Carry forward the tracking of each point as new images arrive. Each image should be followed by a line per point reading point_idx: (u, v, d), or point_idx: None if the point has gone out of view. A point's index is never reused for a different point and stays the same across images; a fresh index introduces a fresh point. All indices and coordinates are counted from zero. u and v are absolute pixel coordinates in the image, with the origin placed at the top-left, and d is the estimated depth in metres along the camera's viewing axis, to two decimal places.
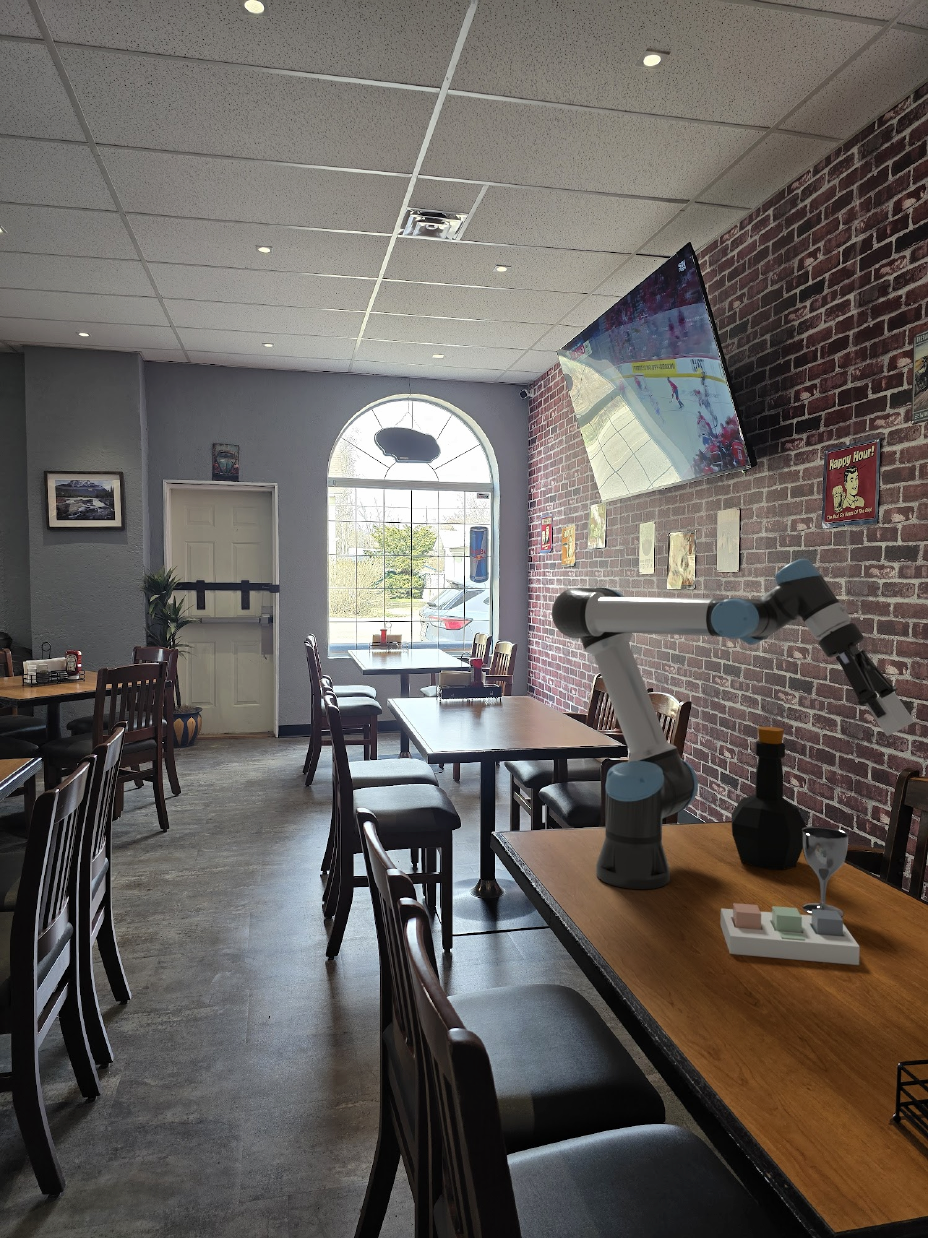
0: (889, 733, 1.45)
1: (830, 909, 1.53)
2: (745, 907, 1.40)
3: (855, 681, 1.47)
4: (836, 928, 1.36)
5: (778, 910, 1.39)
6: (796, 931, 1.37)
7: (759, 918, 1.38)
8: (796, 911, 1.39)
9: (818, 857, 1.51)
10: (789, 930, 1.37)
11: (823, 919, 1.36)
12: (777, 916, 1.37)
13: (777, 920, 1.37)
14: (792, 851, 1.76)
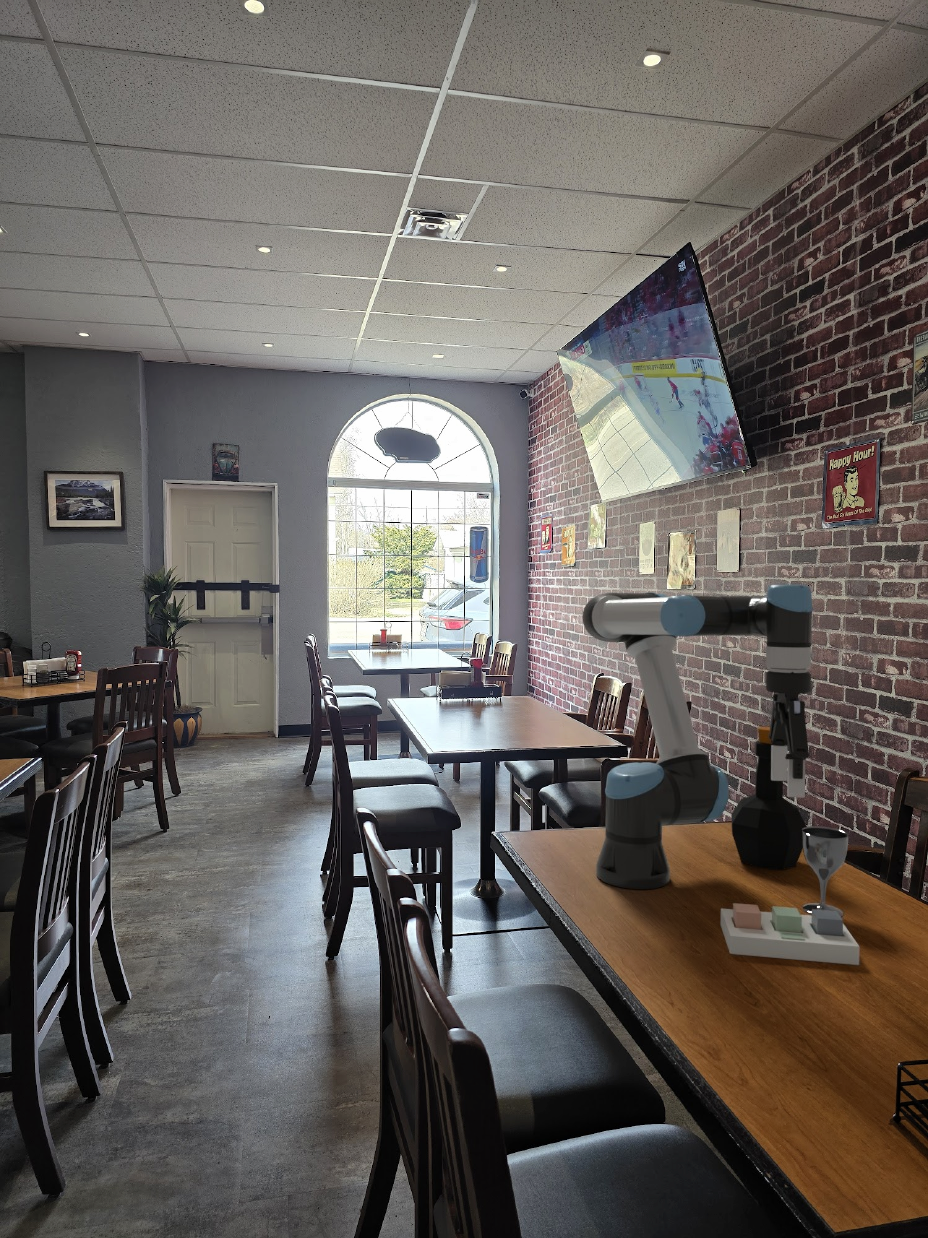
0: (792, 795, 1.39)
1: (830, 909, 1.53)
2: (745, 907, 1.40)
3: (798, 736, 1.38)
4: (836, 928, 1.36)
5: (778, 910, 1.39)
6: (796, 931, 1.37)
7: (759, 918, 1.38)
8: (796, 911, 1.39)
9: (818, 857, 1.51)
10: (789, 930, 1.37)
11: (823, 919, 1.36)
12: (777, 916, 1.37)
13: (777, 920, 1.37)
14: (792, 851, 1.76)
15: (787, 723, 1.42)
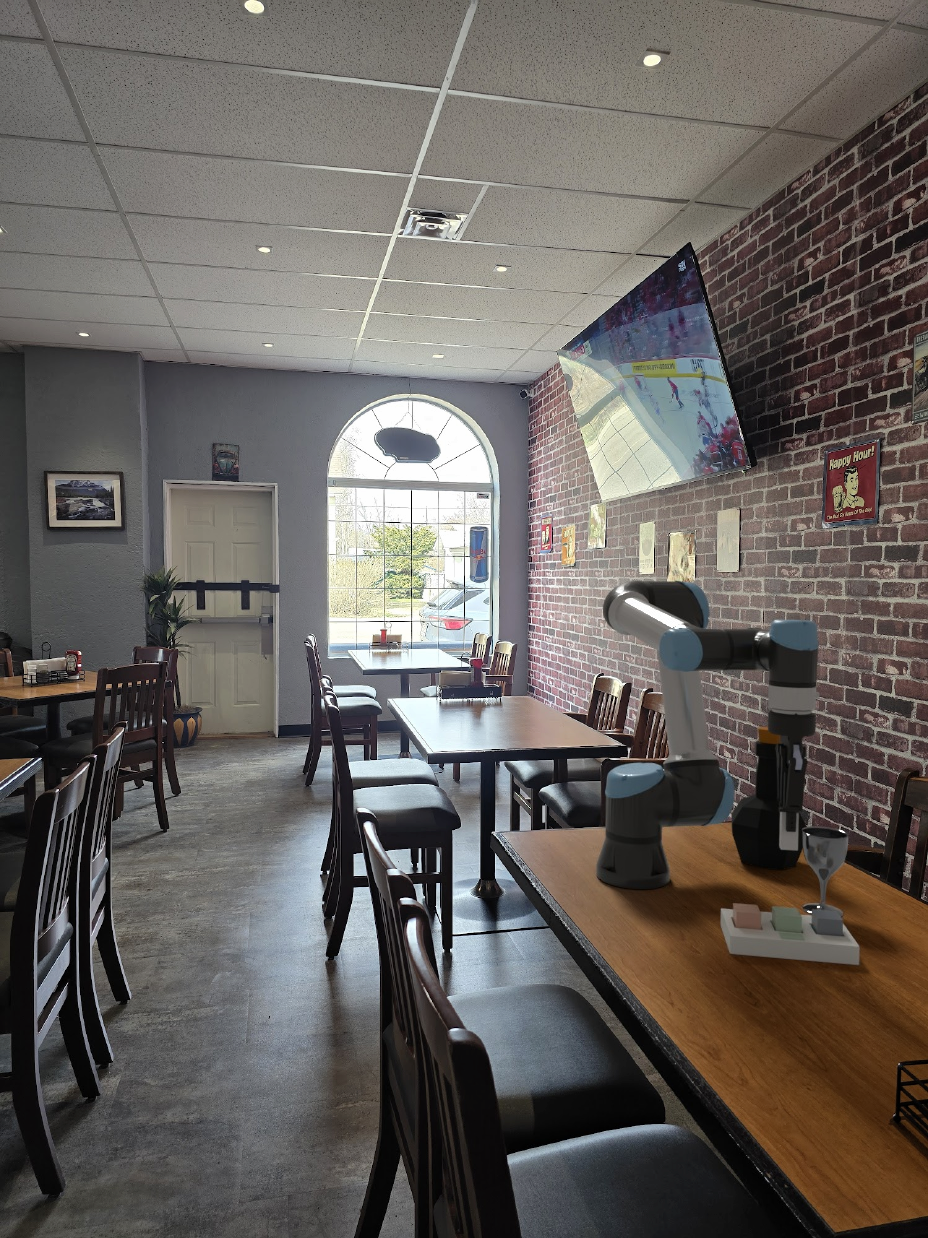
0: (785, 848, 1.38)
1: (830, 909, 1.53)
2: (745, 907, 1.40)
3: (794, 793, 1.34)
4: (836, 928, 1.36)
5: (778, 910, 1.39)
6: (796, 931, 1.37)
7: (759, 918, 1.38)
8: (796, 911, 1.39)
9: (818, 857, 1.51)
10: (789, 930, 1.37)
11: (823, 919, 1.36)
12: (777, 916, 1.37)
13: (777, 920, 1.37)
14: (792, 851, 1.76)
15: (787, 773, 1.36)
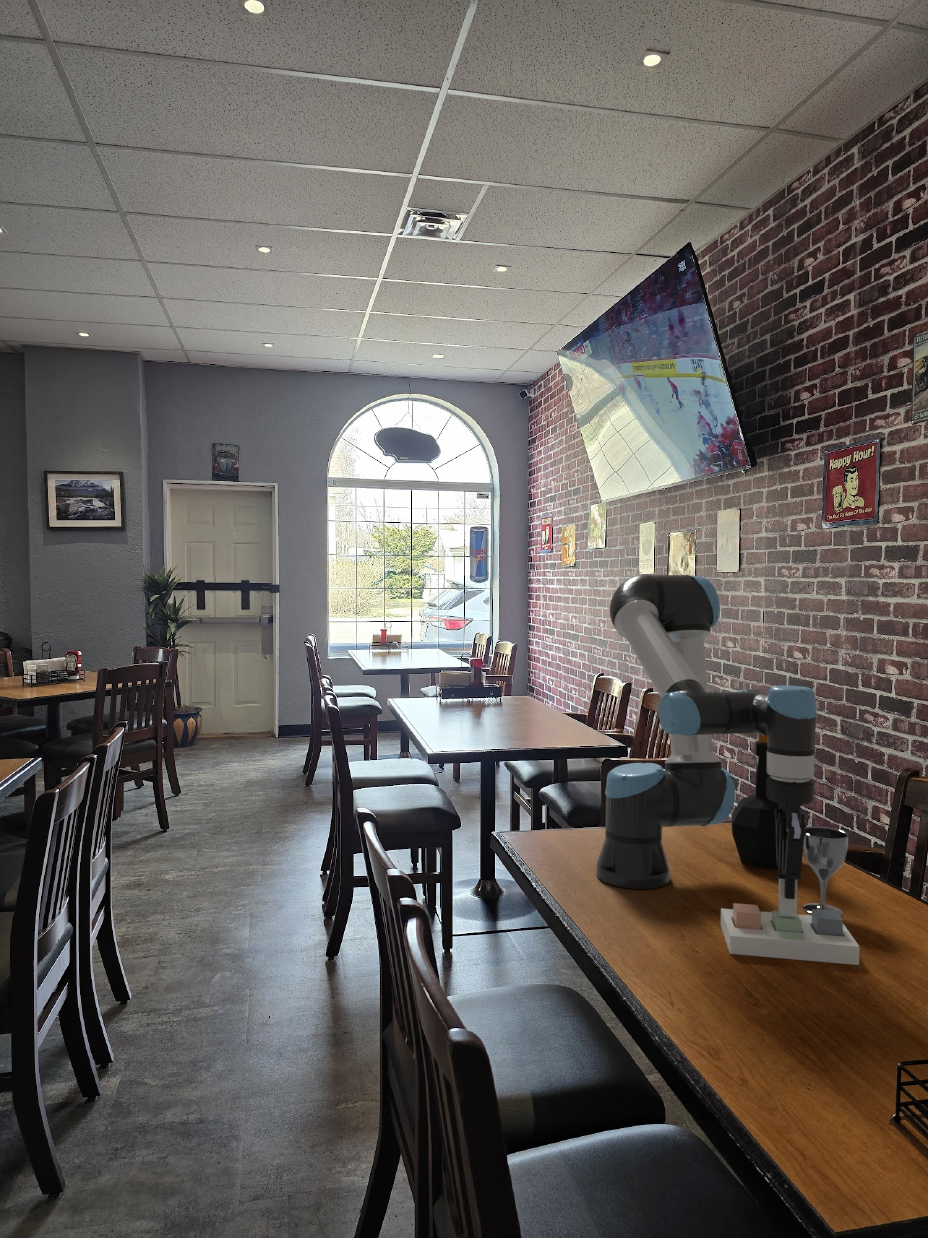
0: (783, 915, 1.38)
1: (830, 909, 1.53)
2: (745, 907, 1.40)
3: (792, 861, 1.34)
4: (836, 928, 1.36)
5: (778, 914, 1.39)
6: None
7: (759, 918, 1.38)
8: None
9: (818, 857, 1.51)
10: None
11: (823, 919, 1.36)
12: (777, 920, 1.37)
13: (777, 924, 1.37)
14: None
15: (785, 840, 1.37)
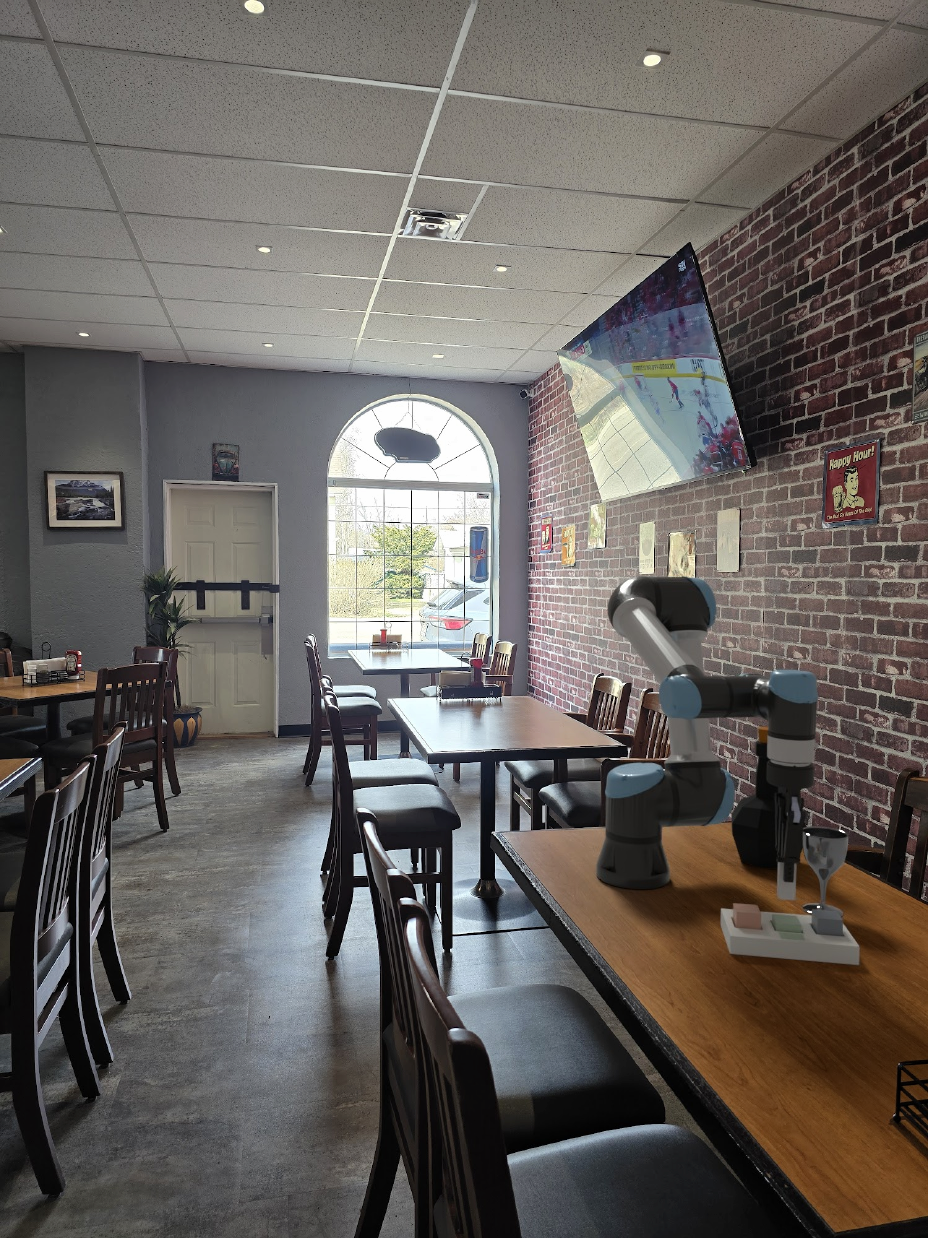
0: (782, 898, 1.38)
1: (830, 909, 1.53)
2: (745, 907, 1.40)
3: (792, 845, 1.34)
4: (836, 928, 1.36)
5: (778, 918, 1.39)
6: None
7: (759, 918, 1.38)
8: (796, 919, 1.39)
9: (818, 857, 1.51)
10: None
11: (823, 919, 1.36)
12: (777, 924, 1.37)
13: (777, 928, 1.37)
14: None
15: (785, 824, 1.37)
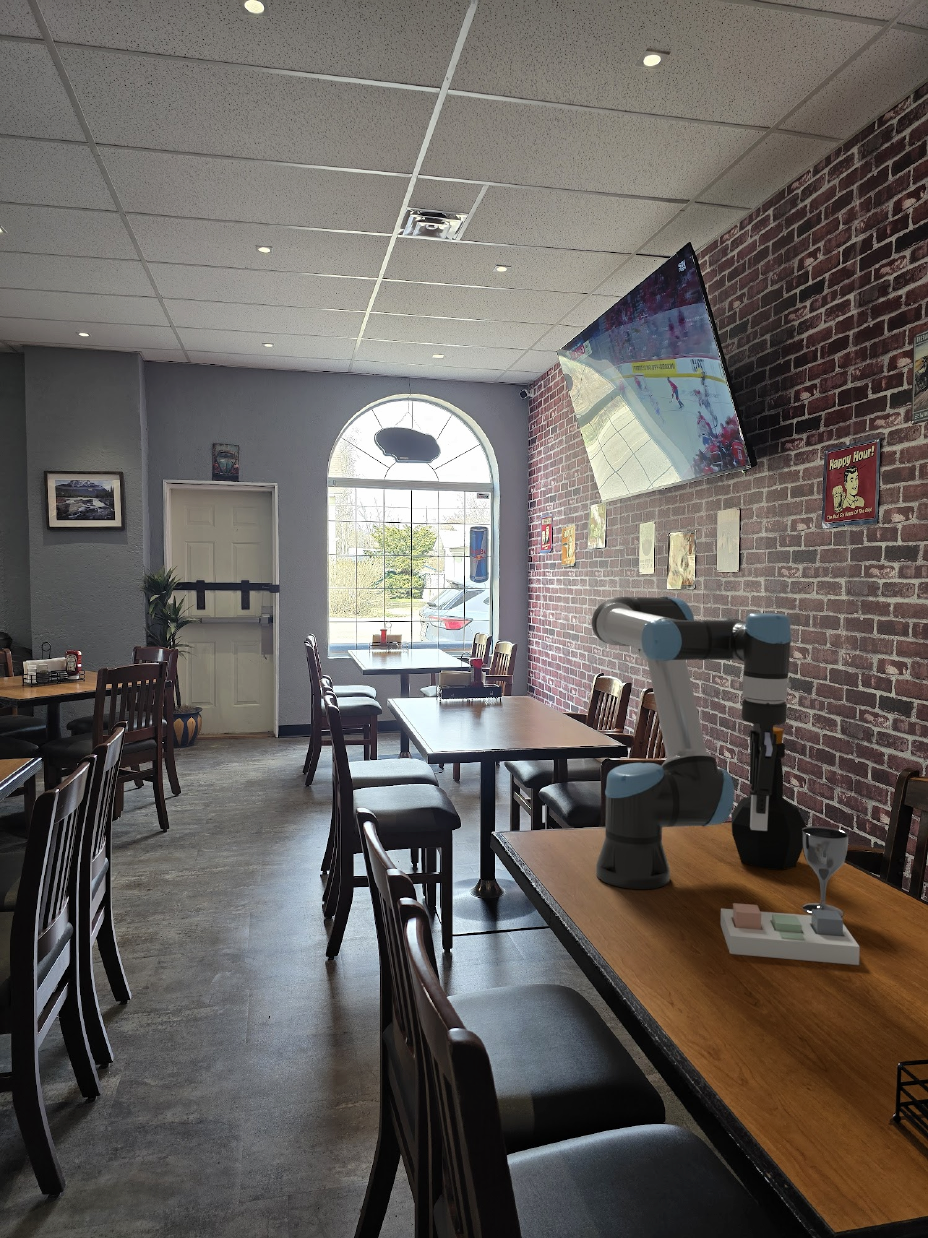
0: (755, 828, 1.46)
1: (830, 909, 1.53)
2: (745, 907, 1.40)
3: (764, 778, 1.42)
4: (836, 928, 1.36)
5: (778, 918, 1.39)
6: None
7: (759, 918, 1.38)
8: (796, 919, 1.39)
9: (818, 857, 1.51)
10: None
11: (823, 919, 1.36)
12: (777, 924, 1.37)
13: (777, 928, 1.37)
14: (792, 851, 1.76)
15: (758, 758, 1.44)
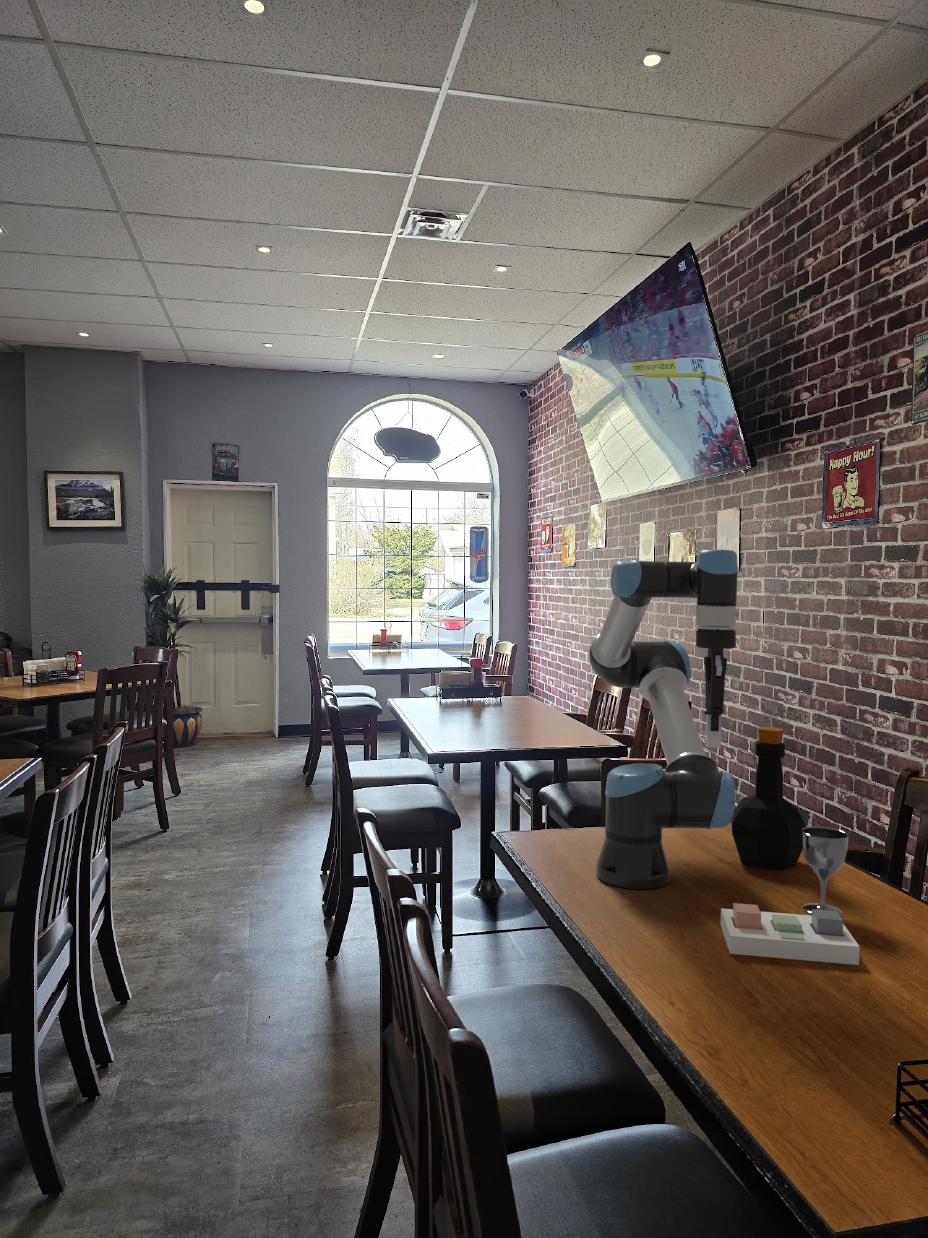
0: (710, 746, 1.61)
1: (830, 909, 1.53)
2: (745, 907, 1.40)
3: (716, 696, 1.57)
4: (836, 928, 1.36)
5: (778, 918, 1.39)
6: None
7: (759, 918, 1.38)
8: (796, 919, 1.39)
9: (818, 857, 1.51)
10: None
11: (823, 919, 1.36)
12: (777, 924, 1.37)
13: (777, 928, 1.37)
14: (792, 851, 1.76)
15: (711, 680, 1.59)
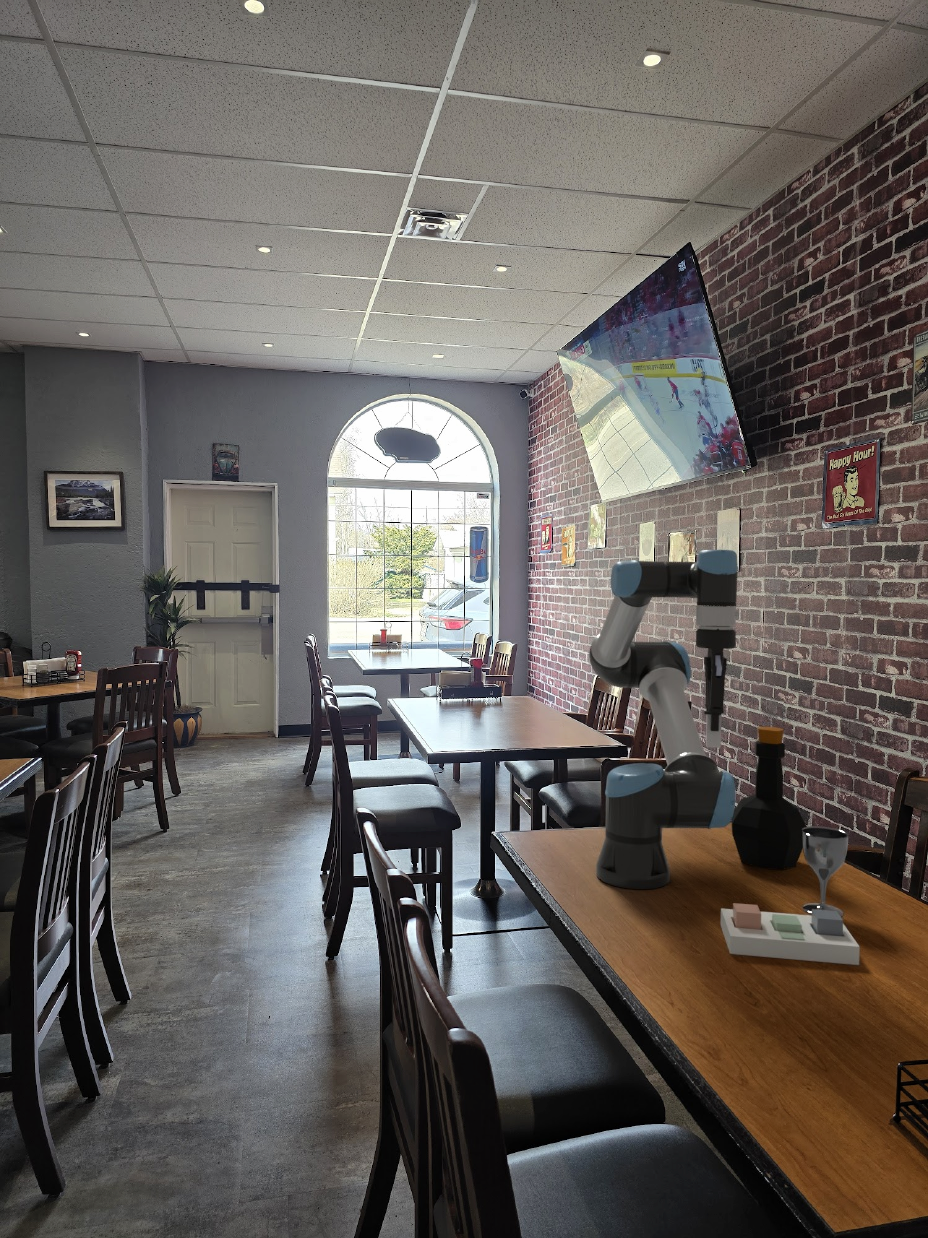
0: (710, 746, 1.61)
1: (830, 909, 1.53)
2: (745, 907, 1.40)
3: (716, 696, 1.57)
4: (836, 928, 1.36)
5: (778, 918, 1.39)
6: None
7: (759, 918, 1.38)
8: (796, 919, 1.39)
9: (818, 857, 1.51)
10: None
11: (823, 919, 1.36)
12: (777, 924, 1.37)
13: (777, 928, 1.37)
14: (792, 851, 1.76)
15: (711, 680, 1.59)
